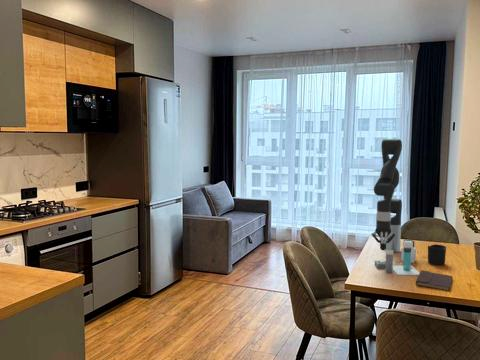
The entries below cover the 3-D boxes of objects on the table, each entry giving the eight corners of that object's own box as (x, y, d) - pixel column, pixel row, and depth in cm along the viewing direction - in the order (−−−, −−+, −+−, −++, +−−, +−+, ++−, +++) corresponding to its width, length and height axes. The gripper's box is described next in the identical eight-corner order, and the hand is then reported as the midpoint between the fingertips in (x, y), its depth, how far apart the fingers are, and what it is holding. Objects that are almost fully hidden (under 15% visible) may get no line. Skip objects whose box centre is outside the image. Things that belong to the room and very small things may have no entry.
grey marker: (384, 271, 228) (384, 249, 227) (391, 271, 228) (392, 249, 227) (386, 273, 224) (386, 251, 223) (393, 273, 224) (394, 251, 223)
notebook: (452, 279, 215) (452, 275, 214) (450, 290, 197) (450, 286, 197) (420, 273, 222) (420, 269, 222) (415, 284, 205) (415, 280, 204)
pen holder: (447, 266, 237) (448, 248, 236) (429, 265, 239) (430, 247, 238) (442, 261, 246) (443, 244, 245) (425, 260, 248) (426, 244, 247)
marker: (402, 268, 230) (402, 247, 229) (409, 268, 230) (410, 247, 229) (404, 270, 227) (404, 248, 226) (411, 271, 226) (412, 248, 225)
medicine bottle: (402, 258, 253) (403, 238, 252) (415, 260, 250) (416, 239, 249) (400, 261, 247) (401, 240, 246) (413, 263, 244) (414, 242, 243)
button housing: (374, 264, 240) (374, 260, 240) (387, 265, 239) (387, 260, 239) (377, 268, 233) (377, 264, 233) (390, 268, 232) (390, 264, 232)
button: (379, 265, 238) (379, 260, 237) (384, 265, 237) (384, 260, 237) (380, 267, 235) (380, 262, 235) (385, 267, 234) (386, 262, 234)
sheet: (389, 266, 237) (389, 265, 237) (411, 266, 236) (411, 265, 236) (397, 275, 221) (397, 274, 221) (421, 275, 220) (421, 274, 220)
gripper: (394, 218, 237) (393, 248, 239) (369, 217, 238) (369, 248, 240) (397, 220, 229) (396, 252, 231) (372, 220, 231) (372, 251, 232)
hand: (382, 250), depth 236 cm, fingers closed
